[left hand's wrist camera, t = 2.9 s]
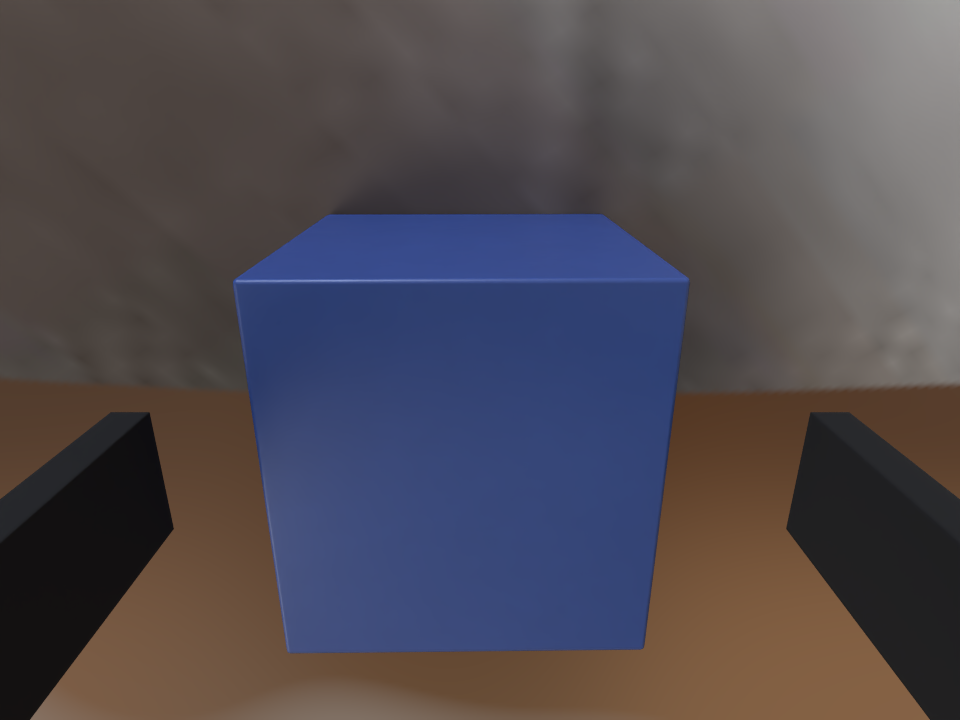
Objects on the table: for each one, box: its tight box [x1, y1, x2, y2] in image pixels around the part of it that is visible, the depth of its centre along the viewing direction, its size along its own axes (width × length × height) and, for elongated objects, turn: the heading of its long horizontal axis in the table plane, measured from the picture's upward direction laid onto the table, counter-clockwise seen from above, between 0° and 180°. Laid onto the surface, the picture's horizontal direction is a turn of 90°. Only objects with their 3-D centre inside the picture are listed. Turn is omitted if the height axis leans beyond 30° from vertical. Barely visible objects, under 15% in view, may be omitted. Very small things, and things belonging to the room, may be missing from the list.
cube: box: [233, 214, 690, 653], centre depth 15 cm, size 8×8×7 cm
